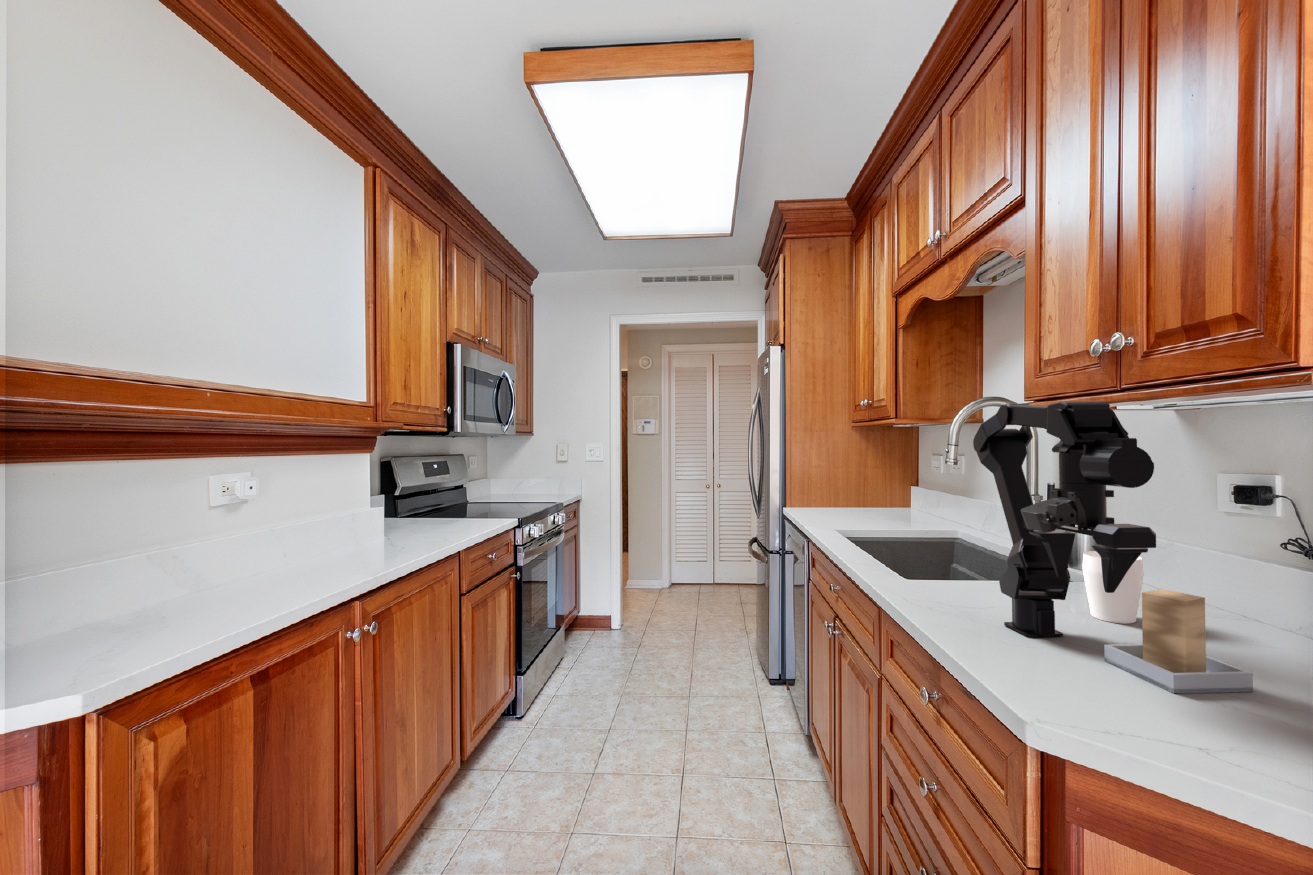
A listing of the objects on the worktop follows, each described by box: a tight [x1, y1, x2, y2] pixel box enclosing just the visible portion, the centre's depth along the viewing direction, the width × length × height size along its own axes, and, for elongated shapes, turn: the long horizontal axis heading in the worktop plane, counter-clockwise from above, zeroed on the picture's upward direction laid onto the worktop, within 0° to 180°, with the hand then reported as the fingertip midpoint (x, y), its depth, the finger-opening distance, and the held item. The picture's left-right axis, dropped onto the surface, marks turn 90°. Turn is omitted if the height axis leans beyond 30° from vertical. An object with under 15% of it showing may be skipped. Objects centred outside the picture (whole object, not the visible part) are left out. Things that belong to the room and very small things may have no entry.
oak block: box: [1141, 588, 1207, 673], centre depth 79 cm, size 5×5×11 cm
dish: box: [1103, 643, 1254, 694], centre depth 79 cm, size 11×11×2 cm
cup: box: [1081, 550, 1145, 625], centre depth 105 cm, size 9×9×12 cm
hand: (1083, 584), depth 84 cm, fingers open, 9 cm apart
